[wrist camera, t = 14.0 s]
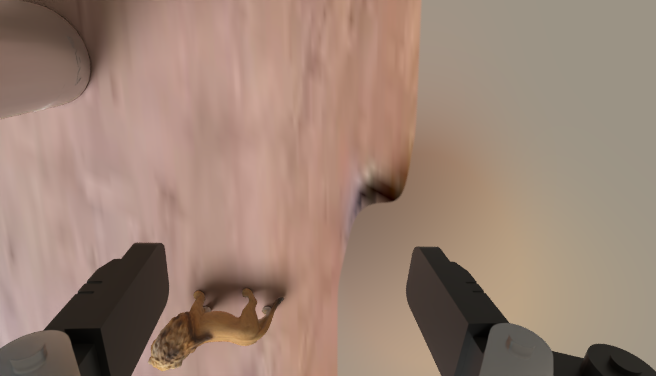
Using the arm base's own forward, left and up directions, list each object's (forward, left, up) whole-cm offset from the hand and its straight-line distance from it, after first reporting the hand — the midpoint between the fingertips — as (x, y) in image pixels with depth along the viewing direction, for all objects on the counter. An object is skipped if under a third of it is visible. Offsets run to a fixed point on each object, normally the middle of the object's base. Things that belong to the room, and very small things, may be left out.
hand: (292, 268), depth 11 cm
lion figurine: (-8, -25, -28) cm, 39 cm away
